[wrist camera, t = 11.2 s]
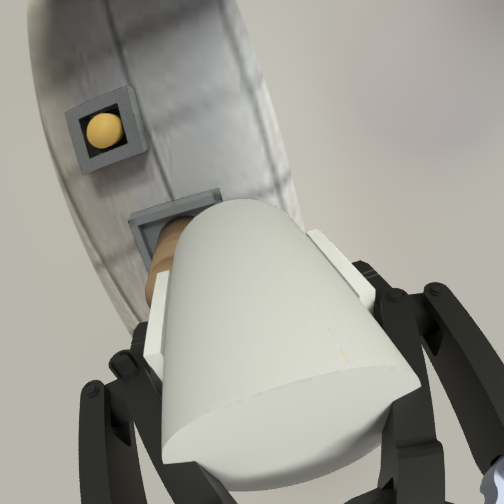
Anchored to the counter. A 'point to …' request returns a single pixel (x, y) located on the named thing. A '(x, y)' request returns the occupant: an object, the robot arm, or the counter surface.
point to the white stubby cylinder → (270, 355)
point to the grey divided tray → (167, 219)
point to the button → (105, 130)
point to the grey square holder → (131, 122)
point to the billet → (165, 251)
